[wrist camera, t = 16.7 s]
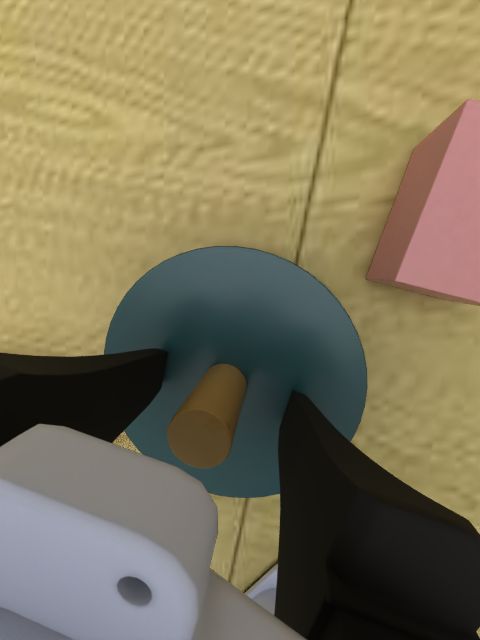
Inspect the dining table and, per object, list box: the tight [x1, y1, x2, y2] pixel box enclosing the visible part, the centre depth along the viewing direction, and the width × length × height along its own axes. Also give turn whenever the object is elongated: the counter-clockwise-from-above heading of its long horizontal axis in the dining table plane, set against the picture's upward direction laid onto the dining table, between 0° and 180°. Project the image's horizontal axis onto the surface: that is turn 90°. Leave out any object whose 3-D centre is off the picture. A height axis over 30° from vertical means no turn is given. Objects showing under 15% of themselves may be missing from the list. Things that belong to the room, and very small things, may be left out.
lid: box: [104, 246, 367, 498], centre depth 10 cm, size 13×13×5 cm
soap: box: [366, 99, 480, 306], centre depth 10 cm, size 4×6×3 cm
